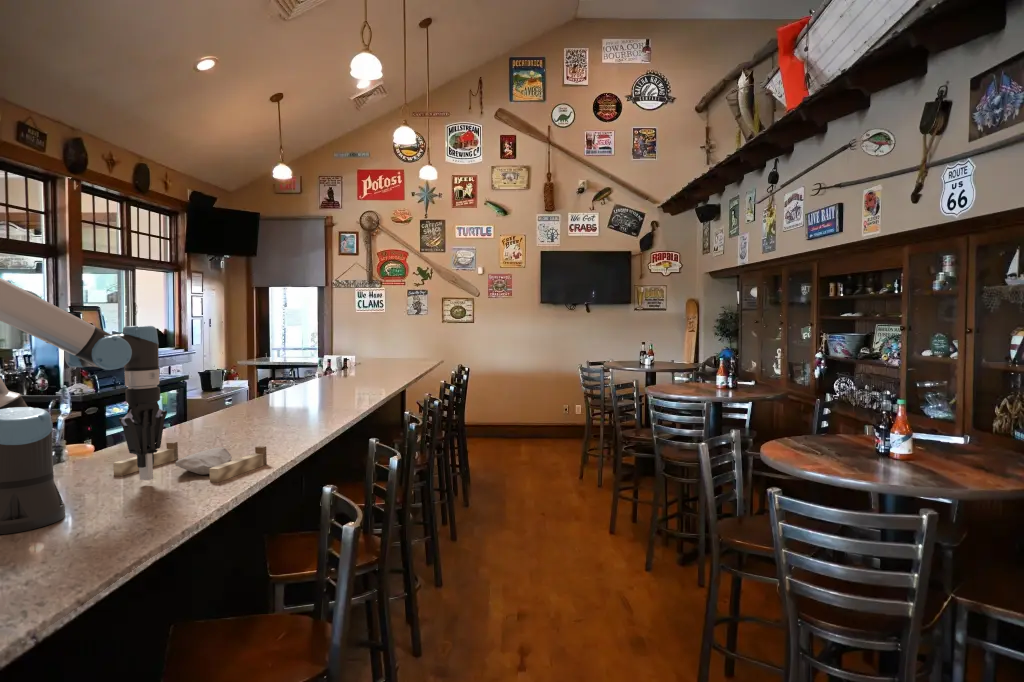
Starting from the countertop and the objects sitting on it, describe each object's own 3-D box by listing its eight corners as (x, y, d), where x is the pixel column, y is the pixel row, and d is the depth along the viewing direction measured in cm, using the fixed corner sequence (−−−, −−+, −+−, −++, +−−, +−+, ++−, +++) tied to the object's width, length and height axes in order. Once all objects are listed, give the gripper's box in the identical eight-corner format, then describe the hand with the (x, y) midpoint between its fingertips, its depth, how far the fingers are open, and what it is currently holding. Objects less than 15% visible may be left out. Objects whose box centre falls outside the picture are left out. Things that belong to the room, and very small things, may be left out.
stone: (217, 482, 165) (242, 460, 190) (220, 463, 165) (245, 444, 189) (167, 477, 163) (199, 456, 188) (169, 458, 163) (201, 439, 187)
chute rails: (218, 482, 160) (217, 462, 159) (113, 475, 168) (113, 456, 168) (266, 464, 179) (266, 446, 179) (171, 458, 187) (170, 441, 187)
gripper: (133, 390, 150) (137, 487, 151) (175, 384, 162) (178, 473, 163) (108, 389, 151) (112, 485, 152) (151, 383, 164) (154, 471, 165)
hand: (146, 479), depth 158 cm, fingers closed
